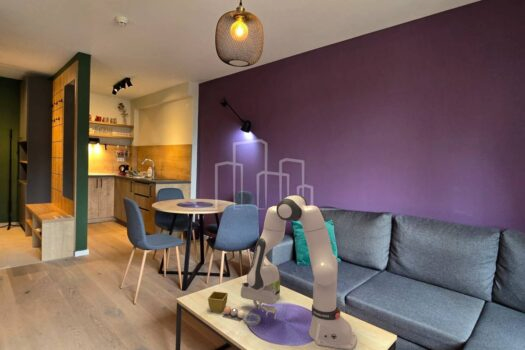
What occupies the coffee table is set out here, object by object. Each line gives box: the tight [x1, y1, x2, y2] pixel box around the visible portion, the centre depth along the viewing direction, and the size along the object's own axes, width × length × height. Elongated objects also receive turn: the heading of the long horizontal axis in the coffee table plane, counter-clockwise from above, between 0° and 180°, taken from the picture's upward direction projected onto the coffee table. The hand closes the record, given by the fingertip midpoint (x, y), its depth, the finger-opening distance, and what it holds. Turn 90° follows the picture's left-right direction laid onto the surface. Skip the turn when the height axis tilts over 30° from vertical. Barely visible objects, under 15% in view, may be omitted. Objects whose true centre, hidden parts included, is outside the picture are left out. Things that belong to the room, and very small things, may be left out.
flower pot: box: [207, 290, 229, 314], centre depth 165 cm, size 9×9×9 cm
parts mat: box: [221, 313, 243, 323], centre depth 159 cm, size 11×7×1 cm, turn 66°
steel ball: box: [230, 307, 239, 316], centre depth 159 cm, size 4×4×4 cm
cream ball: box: [237, 309, 246, 318], centre depth 157 cm, size 4×4×4 cm
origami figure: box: [260, 304, 278, 320], centre depth 161 cm, size 12×8×5 cm
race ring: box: [242, 313, 262, 327], centre depth 155 cm, size 8×8×2 cm
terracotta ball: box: [223, 306, 232, 315], centre depth 161 cm, size 4×4×4 cm
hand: (257, 308), depth 165 cm, fingers closed
